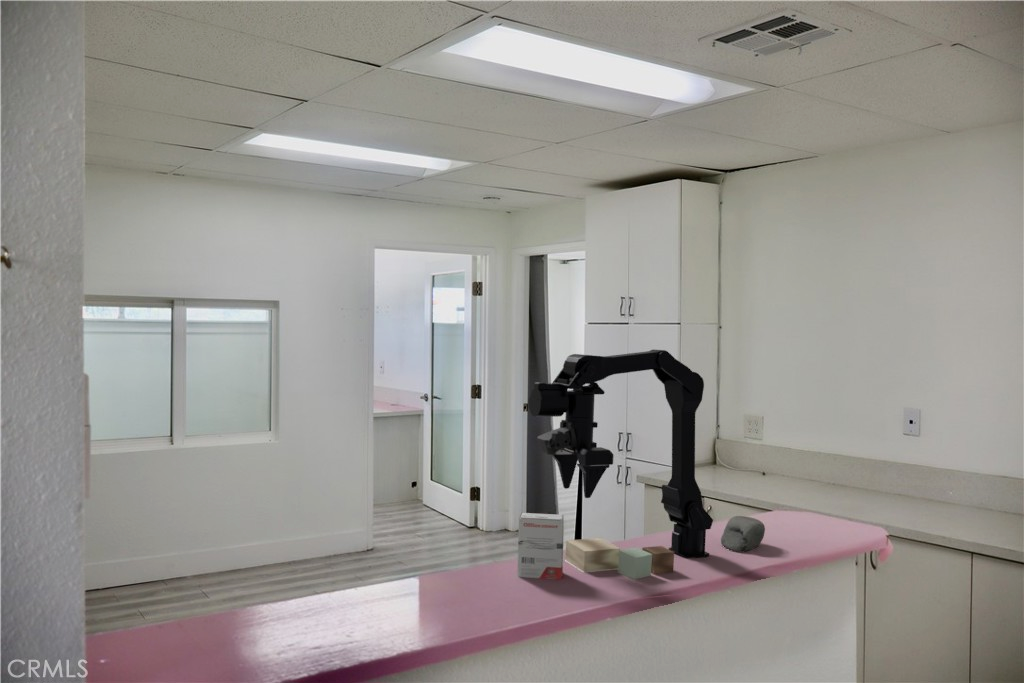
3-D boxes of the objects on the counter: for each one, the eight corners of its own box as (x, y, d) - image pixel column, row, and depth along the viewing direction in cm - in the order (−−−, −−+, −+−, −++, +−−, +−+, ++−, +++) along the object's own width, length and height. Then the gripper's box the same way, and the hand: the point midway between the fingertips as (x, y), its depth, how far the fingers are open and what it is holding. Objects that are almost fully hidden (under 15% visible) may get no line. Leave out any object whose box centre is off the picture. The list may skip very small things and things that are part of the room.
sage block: (633, 569, 156) (635, 547, 156) (650, 576, 152) (652, 554, 152) (617, 572, 153) (619, 550, 153) (634, 580, 150) (636, 557, 149)
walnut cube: (660, 567, 159) (661, 545, 159) (673, 574, 155) (674, 552, 155) (641, 569, 157) (642, 547, 157) (653, 576, 153) (654, 553, 153)
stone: (708, 543, 178) (724, 503, 181) (731, 557, 183) (746, 517, 185) (739, 554, 171) (755, 512, 173) (762, 568, 175) (778, 526, 177)
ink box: (562, 573, 152) (565, 513, 152) (561, 581, 147) (564, 519, 147) (518, 570, 153) (521, 511, 153) (516, 578, 148) (518, 516, 148)
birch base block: (599, 556, 163) (600, 537, 163) (619, 568, 156) (620, 548, 156) (565, 559, 160) (566, 540, 160) (583, 571, 153) (584, 551, 153)
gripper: (524, 411, 164) (521, 485, 164) (564, 422, 146) (561, 505, 147) (572, 411, 168) (569, 483, 168) (616, 421, 151) (613, 502, 151)
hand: (576, 492), depth 158 cm, fingers open, 9 cm apart
